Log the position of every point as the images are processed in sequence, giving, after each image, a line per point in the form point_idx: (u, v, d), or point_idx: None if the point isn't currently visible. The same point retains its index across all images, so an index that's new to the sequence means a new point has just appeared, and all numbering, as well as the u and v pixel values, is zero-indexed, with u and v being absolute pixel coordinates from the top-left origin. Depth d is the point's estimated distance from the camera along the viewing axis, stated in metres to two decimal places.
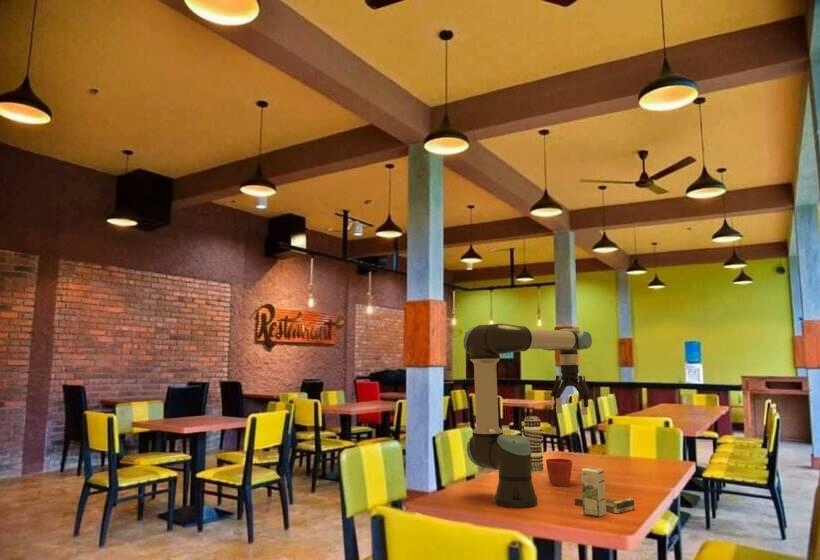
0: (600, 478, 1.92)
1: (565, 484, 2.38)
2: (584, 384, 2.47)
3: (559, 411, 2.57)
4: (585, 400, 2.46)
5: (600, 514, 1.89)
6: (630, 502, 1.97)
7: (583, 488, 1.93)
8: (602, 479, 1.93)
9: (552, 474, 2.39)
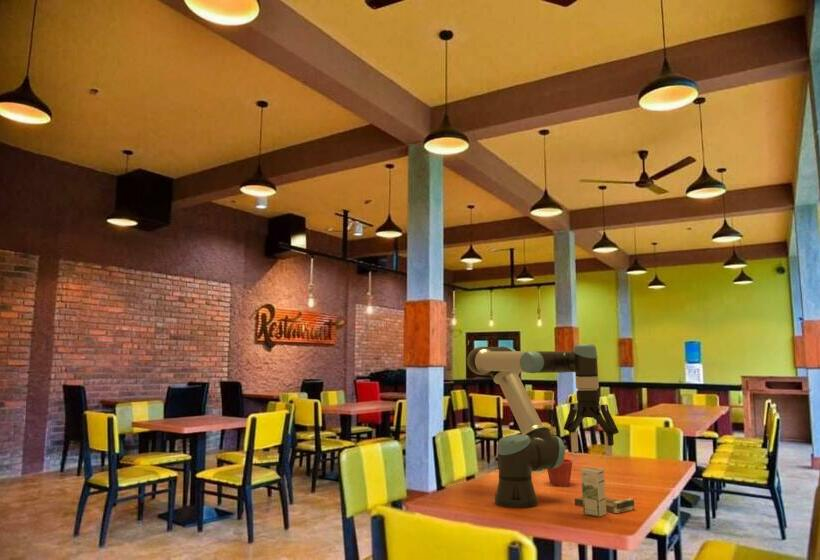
0: (600, 478, 1.92)
1: (565, 484, 2.38)
2: (608, 416, 1.92)
3: (575, 449, 2.02)
4: (609, 437, 1.91)
5: (600, 514, 1.89)
6: (630, 502, 1.97)
7: (583, 488, 1.93)
8: (602, 479, 1.93)
9: (552, 474, 2.39)
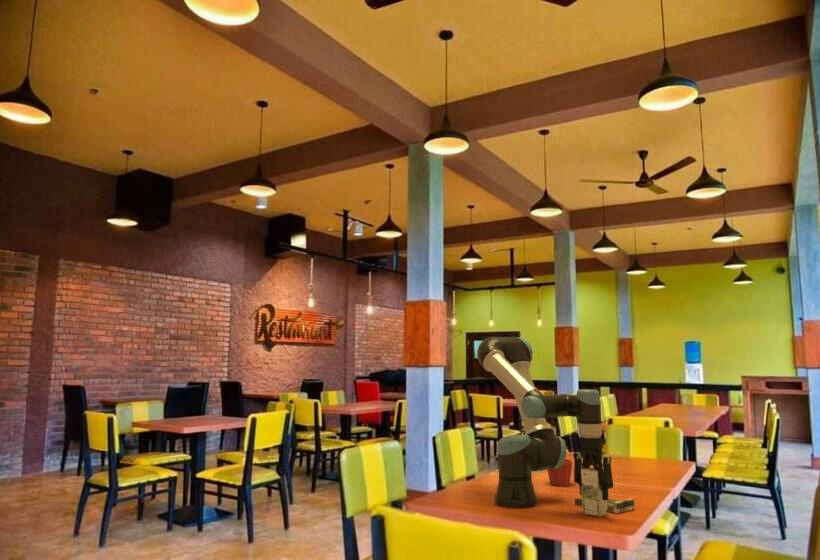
0: None
1: (565, 484, 2.38)
2: (608, 469, 1.89)
3: None
4: (604, 491, 1.89)
5: (600, 514, 1.89)
6: (630, 502, 1.97)
7: (583, 488, 1.93)
8: None
9: (552, 474, 2.39)
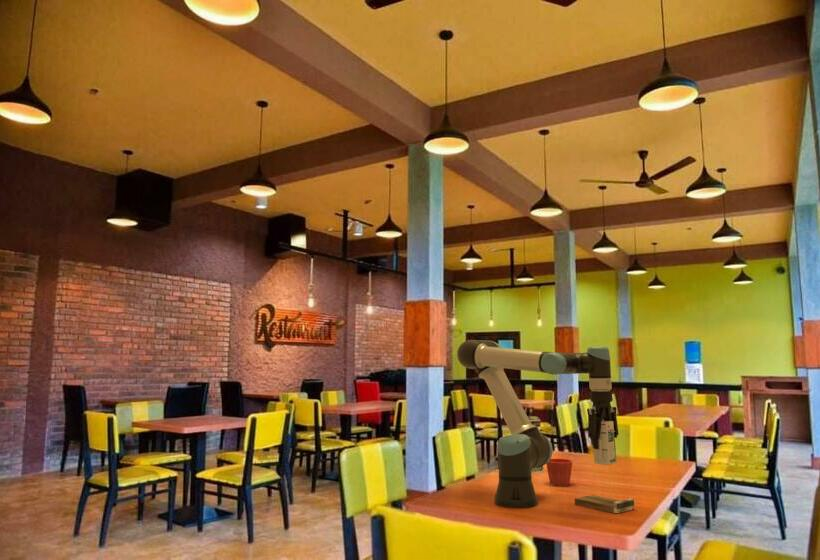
0: None
1: (565, 484, 2.38)
2: (590, 420, 2.02)
3: None
4: None
5: (596, 461, 2.02)
6: (630, 502, 1.97)
7: None
8: (602, 431, 2.02)
9: (552, 474, 2.39)
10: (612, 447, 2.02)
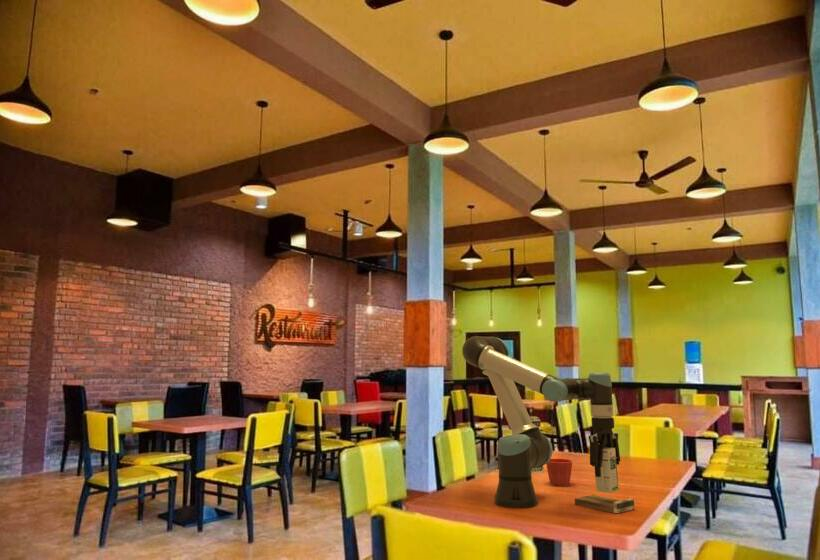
0: None
1: (565, 484, 2.38)
2: (591, 447, 2.01)
3: None
4: None
5: (598, 489, 2.01)
6: (630, 502, 1.97)
7: None
8: (604, 458, 2.01)
9: (552, 474, 2.39)
10: (614, 475, 2.01)
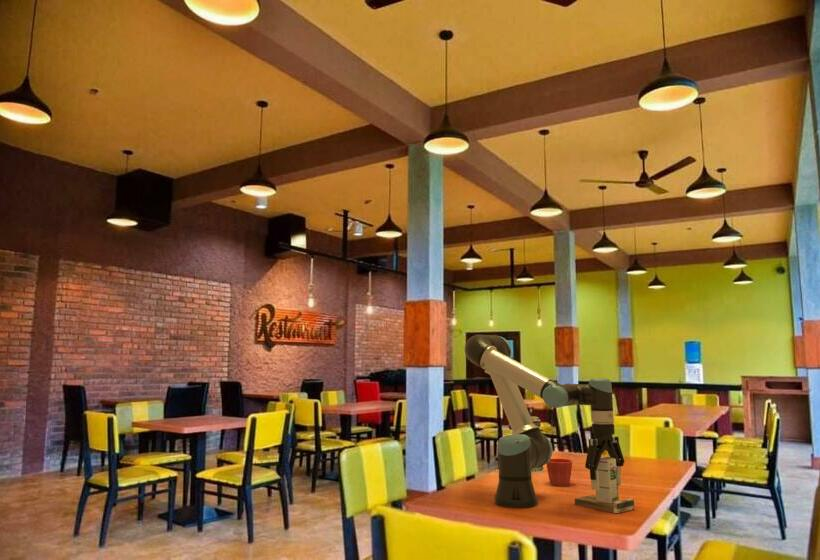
0: (600, 466, 2.01)
1: (565, 484, 2.38)
2: (589, 450, 2.00)
3: None
4: None
5: (598, 499, 2.01)
6: (630, 502, 1.97)
7: None
8: (604, 469, 2.00)
9: (552, 474, 2.39)
10: (615, 485, 2.00)
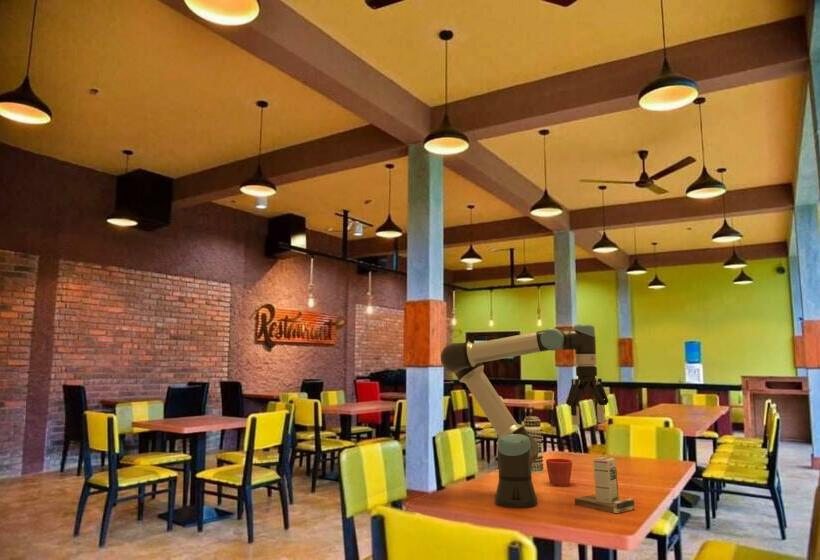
0: (600, 467, 2.01)
1: (565, 484, 2.38)
2: (571, 389, 2.14)
3: (599, 420, 2.20)
4: None
5: (598, 499, 2.01)
6: (630, 502, 1.97)
7: None
8: (604, 469, 2.00)
9: (552, 474, 2.39)
10: (614, 485, 2.00)
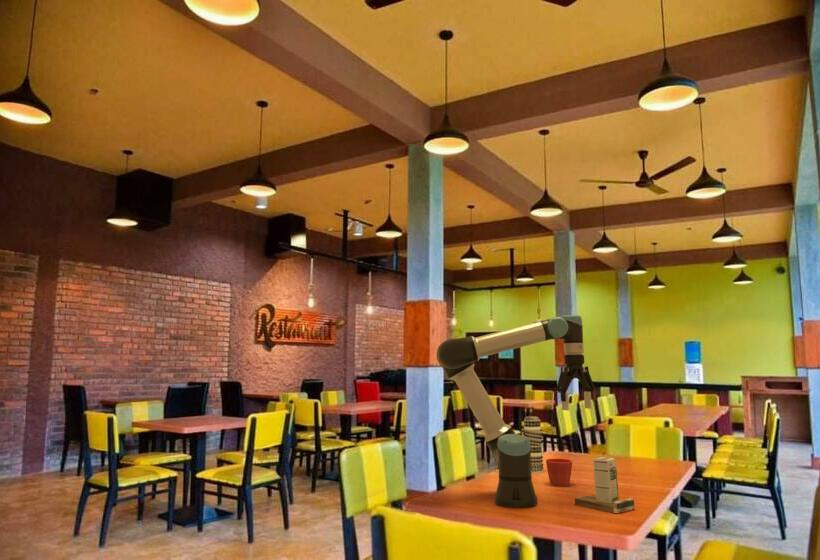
0: (600, 467, 2.01)
1: (565, 484, 2.38)
2: (561, 376, 2.24)
3: (586, 406, 2.31)
4: None
5: (598, 499, 2.01)
6: (630, 502, 1.97)
7: None
8: (604, 469, 2.00)
9: (552, 474, 2.39)
10: (614, 485, 2.00)
